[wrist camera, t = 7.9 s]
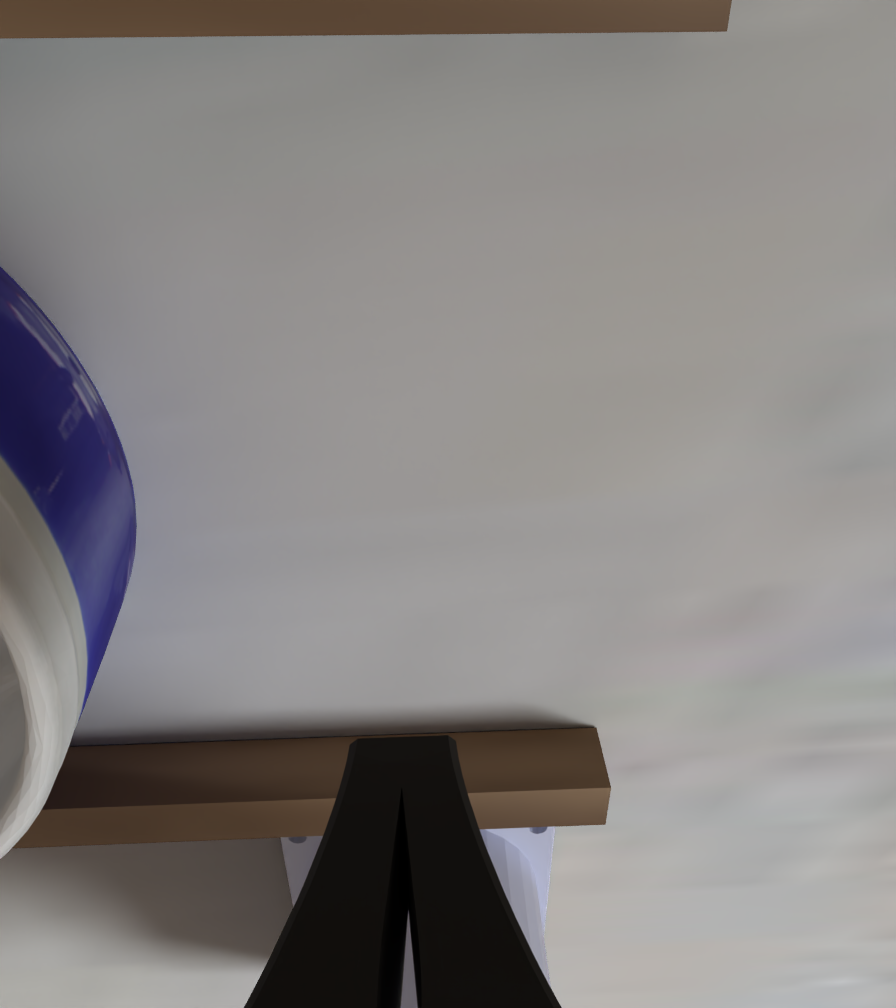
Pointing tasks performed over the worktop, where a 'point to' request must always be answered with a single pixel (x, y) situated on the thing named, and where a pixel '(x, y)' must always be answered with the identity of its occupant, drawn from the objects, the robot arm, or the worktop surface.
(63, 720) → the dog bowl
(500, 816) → the wooden tray
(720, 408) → the worktop surface
